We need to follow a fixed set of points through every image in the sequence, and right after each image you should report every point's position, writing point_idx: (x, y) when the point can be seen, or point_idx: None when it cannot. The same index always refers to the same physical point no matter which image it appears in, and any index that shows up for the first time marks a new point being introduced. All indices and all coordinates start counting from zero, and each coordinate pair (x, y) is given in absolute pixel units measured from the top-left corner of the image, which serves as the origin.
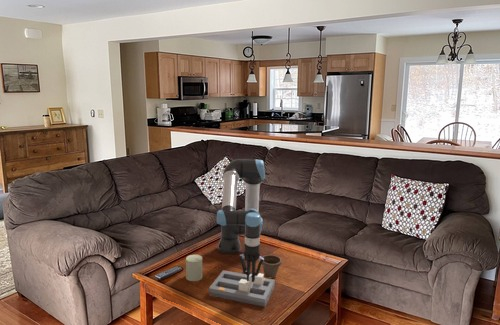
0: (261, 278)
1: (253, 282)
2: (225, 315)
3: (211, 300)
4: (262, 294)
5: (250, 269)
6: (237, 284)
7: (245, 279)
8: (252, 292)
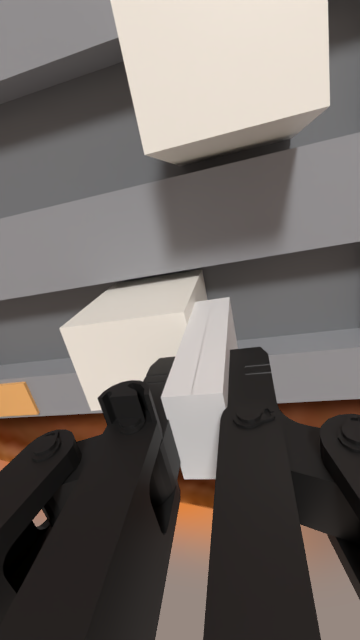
0: (311, 112)
1: (180, 160)
2: (182, 499)
3: (36, 422)
4: (341, 256)
5: (132, 508)
6: (57, 283)
7: (38, 82)
8: (231, 273)
